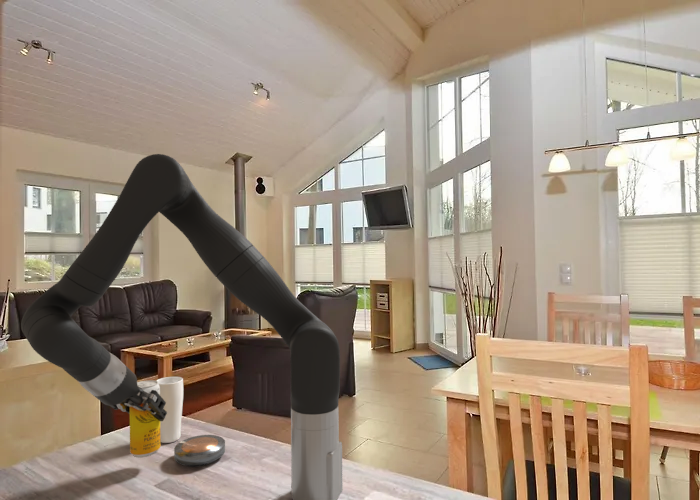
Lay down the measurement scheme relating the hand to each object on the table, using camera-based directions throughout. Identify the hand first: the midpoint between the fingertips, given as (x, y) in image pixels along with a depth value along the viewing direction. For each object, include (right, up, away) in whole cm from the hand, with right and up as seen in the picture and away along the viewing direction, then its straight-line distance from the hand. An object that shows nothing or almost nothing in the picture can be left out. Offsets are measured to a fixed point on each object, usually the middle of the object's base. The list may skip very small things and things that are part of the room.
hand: (151, 415), depth 97 cm
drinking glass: (-1, -11, +13) cm, 17 cm away
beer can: (0, -8, -2) cm, 8 cm away
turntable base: (+10, -11, +3) cm, 15 cm away
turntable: (+10, -11, +3) cm, 15 cm away
